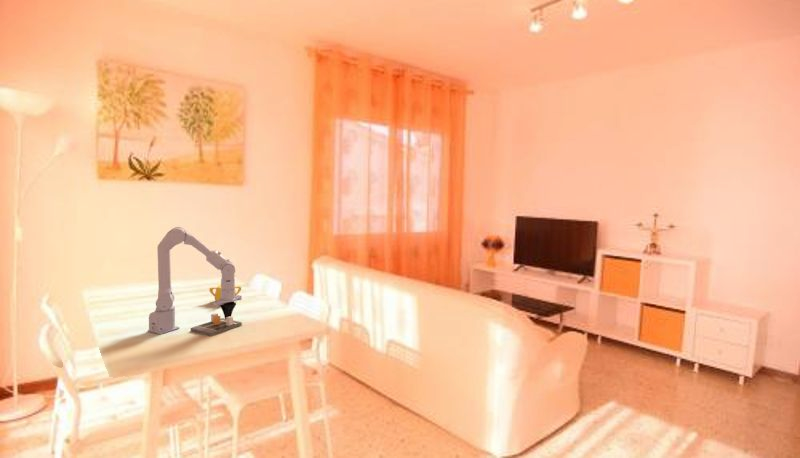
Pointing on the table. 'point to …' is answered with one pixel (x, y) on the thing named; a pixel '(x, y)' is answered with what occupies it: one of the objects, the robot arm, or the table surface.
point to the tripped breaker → (216, 320)
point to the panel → (216, 326)
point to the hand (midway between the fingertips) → (227, 318)
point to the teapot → (218, 292)
